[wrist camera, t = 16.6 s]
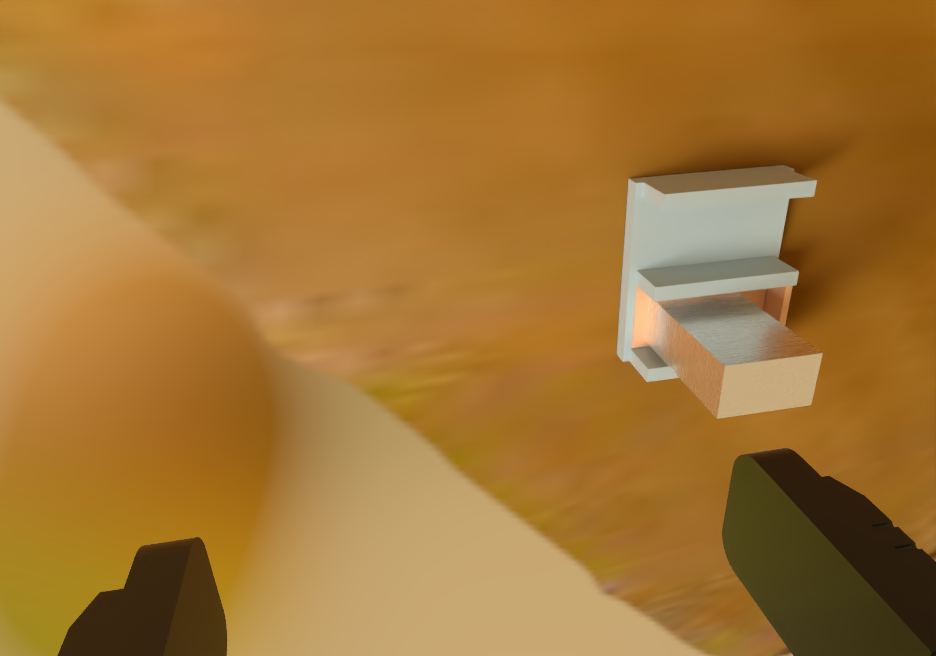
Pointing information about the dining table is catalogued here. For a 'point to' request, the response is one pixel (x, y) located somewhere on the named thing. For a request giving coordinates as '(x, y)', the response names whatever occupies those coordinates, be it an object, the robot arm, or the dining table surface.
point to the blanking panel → (733, 354)
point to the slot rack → (704, 247)
